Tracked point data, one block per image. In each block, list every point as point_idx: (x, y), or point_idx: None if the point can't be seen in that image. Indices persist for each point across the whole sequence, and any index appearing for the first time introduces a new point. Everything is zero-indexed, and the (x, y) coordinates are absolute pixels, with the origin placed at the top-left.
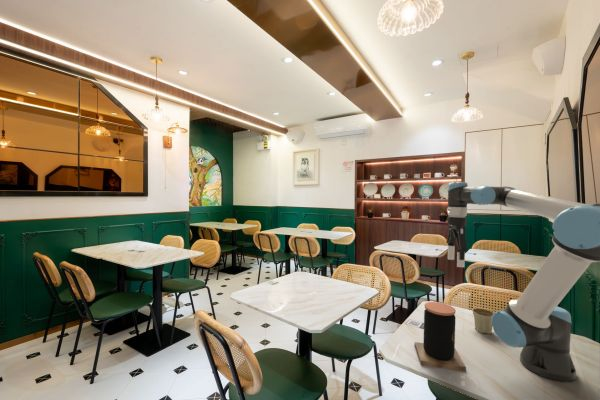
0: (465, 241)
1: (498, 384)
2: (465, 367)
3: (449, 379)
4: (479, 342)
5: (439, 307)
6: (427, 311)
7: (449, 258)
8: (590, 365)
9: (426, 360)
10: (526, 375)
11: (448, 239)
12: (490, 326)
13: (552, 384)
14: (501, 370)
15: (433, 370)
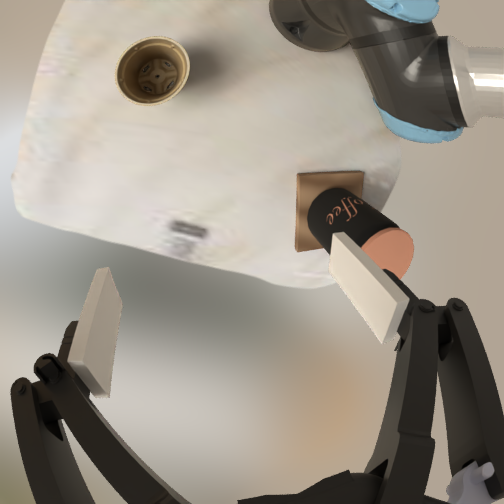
0: (487, 369)
1: (381, 130)
2: (363, 173)
3: (379, 202)
4: (238, 103)
5: (387, 264)
6: None
7: (118, 302)
8: None
9: None
10: (349, 66)
11: (69, 448)
12: (177, 60)
13: None
14: (345, 104)
15: None
